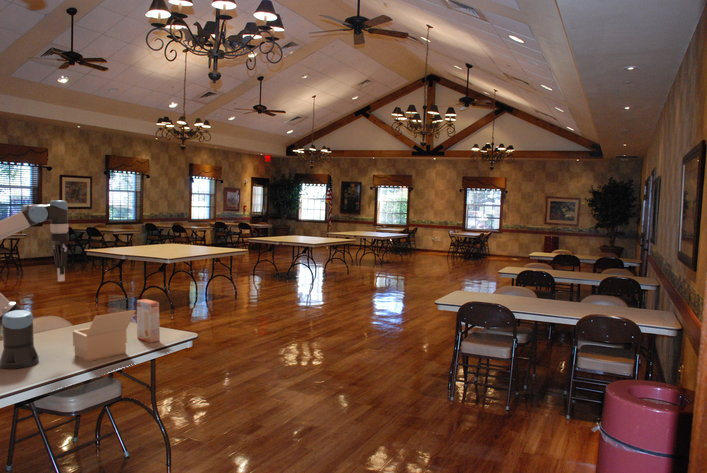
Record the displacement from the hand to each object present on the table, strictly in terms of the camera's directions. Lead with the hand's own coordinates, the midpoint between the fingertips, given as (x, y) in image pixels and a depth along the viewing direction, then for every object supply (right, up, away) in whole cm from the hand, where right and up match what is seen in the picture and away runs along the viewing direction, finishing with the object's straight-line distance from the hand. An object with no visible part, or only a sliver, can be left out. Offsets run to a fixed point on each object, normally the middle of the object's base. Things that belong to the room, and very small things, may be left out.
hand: (61, 281), depth 266 cm
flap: (+30, -18, -13) cm, 37 cm away
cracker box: (+34, -33, +23) cm, 53 cm away
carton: (+21, -35, -4) cm, 41 cm away
